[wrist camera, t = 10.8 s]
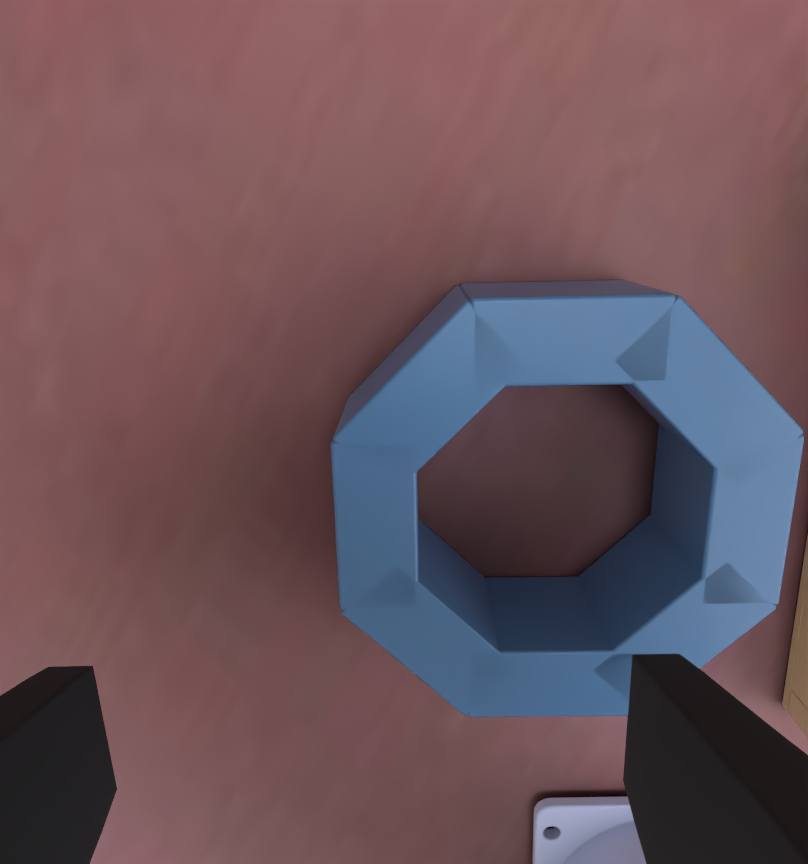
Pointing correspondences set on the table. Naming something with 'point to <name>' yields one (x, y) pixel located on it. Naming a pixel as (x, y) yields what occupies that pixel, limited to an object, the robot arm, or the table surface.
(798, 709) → the tray
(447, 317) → the ring
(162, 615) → the table surface
